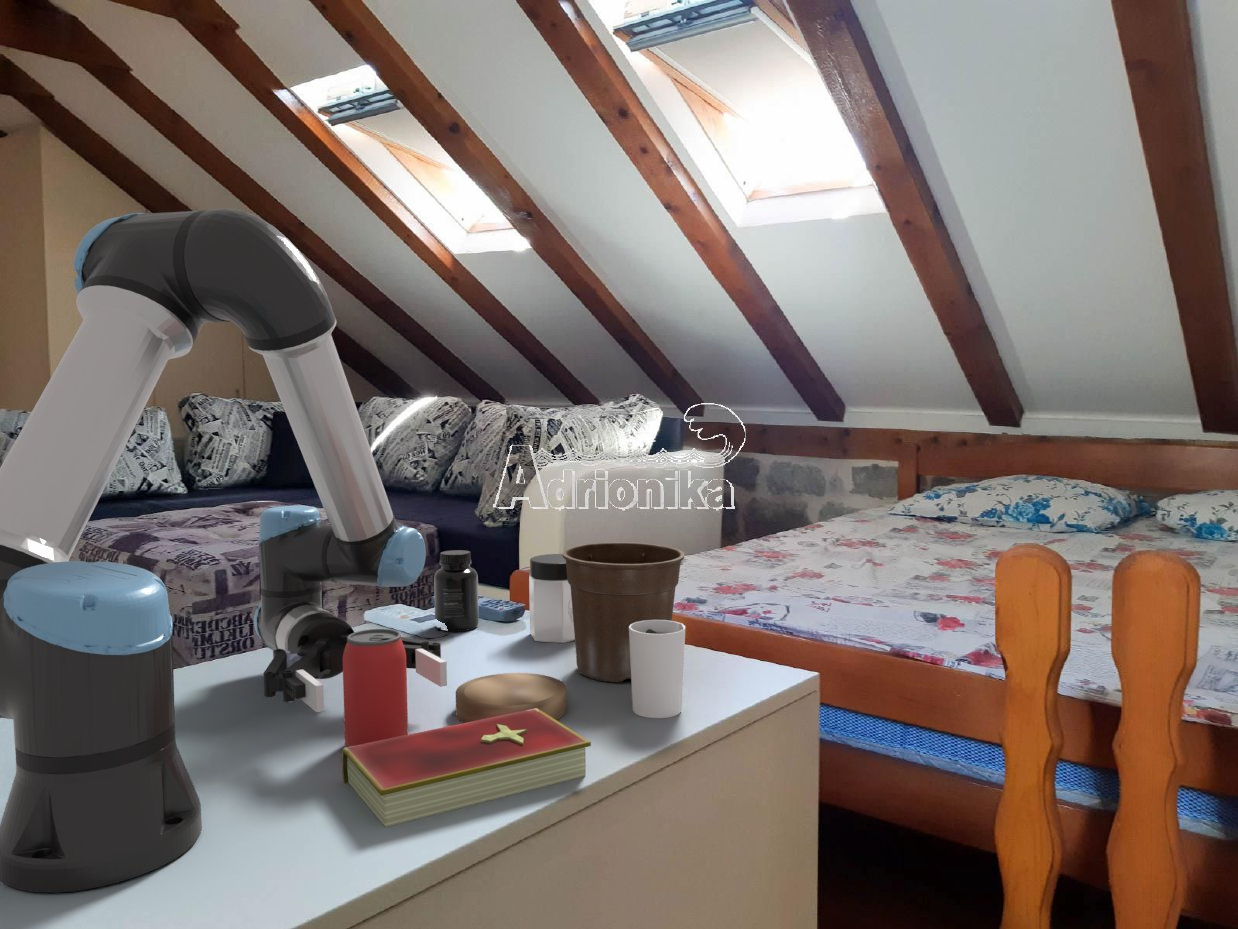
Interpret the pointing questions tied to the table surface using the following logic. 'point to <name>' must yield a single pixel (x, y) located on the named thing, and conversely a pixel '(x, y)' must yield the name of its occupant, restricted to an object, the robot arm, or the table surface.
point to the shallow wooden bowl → (510, 696)
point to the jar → (550, 600)
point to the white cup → (657, 667)
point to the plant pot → (617, 600)
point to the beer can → (374, 686)
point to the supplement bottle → (456, 591)
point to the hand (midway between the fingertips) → (384, 686)
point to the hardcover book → (463, 764)
